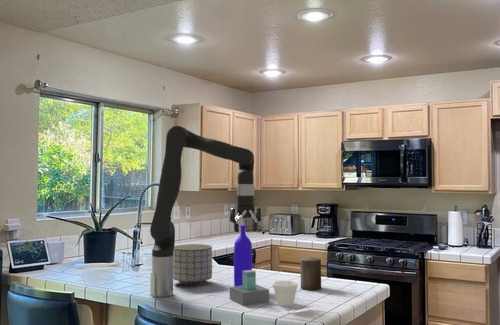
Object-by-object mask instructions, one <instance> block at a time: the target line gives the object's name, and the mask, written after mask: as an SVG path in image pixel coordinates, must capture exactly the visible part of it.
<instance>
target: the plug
mask: <svg viewBox="0 0 500 325" xmlns="http://www.w3.org/2000/svg"><path fill="white" fill-rule="evenodd" d="M256 274H257V272H256V271H255V270H253V269H252V270H246V271H243V289H245V290H252V289H256V285H257V284H256V283H257V282H256V280H257V278H256Z"/></svg>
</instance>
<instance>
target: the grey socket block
mask: <svg viewBox="0 0 500 325" xmlns="http://www.w3.org/2000/svg"><path fill="white" fill-rule="evenodd" d="M229 300H230V301H233V302H234V303H237V304H238V305H241V306H250V305H252V306H253V305H258V304H259V305H260V304H263V303H265V304H266V303H270V290H269V289H268V288H266V287H263V286H261V285H258V284H256V289H252V290H245V289H243V285H242V286H234V285H233V286H229Z"/></svg>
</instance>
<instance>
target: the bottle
mask: <svg viewBox="0 0 500 325" xmlns="http://www.w3.org/2000/svg"><path fill="white" fill-rule="evenodd" d="M239 228H240V235H239V236H238V237H237V239H235V242H234V244H233V248H234V250H233V287H234V286H242V285H243V271H246V270H253V247H252V246H253V244H252V241H251V239H250V238H249V237H248V236H247V234H246V228H247V225H245V224H244V225H243V224H241V225H239Z"/></svg>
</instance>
